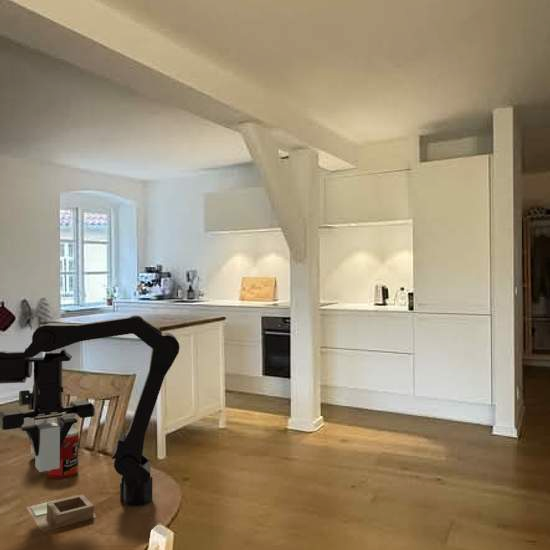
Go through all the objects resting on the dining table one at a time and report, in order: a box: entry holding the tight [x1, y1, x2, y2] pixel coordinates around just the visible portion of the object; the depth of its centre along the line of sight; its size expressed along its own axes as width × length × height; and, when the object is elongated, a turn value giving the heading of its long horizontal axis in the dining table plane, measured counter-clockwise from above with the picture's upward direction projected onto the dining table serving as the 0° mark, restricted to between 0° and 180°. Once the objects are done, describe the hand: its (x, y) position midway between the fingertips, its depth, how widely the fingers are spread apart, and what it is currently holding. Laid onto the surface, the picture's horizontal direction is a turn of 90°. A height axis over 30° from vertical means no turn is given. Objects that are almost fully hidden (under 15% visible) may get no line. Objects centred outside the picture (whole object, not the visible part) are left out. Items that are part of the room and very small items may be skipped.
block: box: [34, 422, 60, 473], centre depth 115 cm, size 4×4×9 cm
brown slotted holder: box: [25, 493, 98, 533], centre depth 114 cm, size 14×11×4 cm
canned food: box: [46, 427, 80, 480], centre depth 139 cm, size 8×8×11 cm
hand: (47, 453), depth 115 cm, fingers closed on block, 4 cm apart
